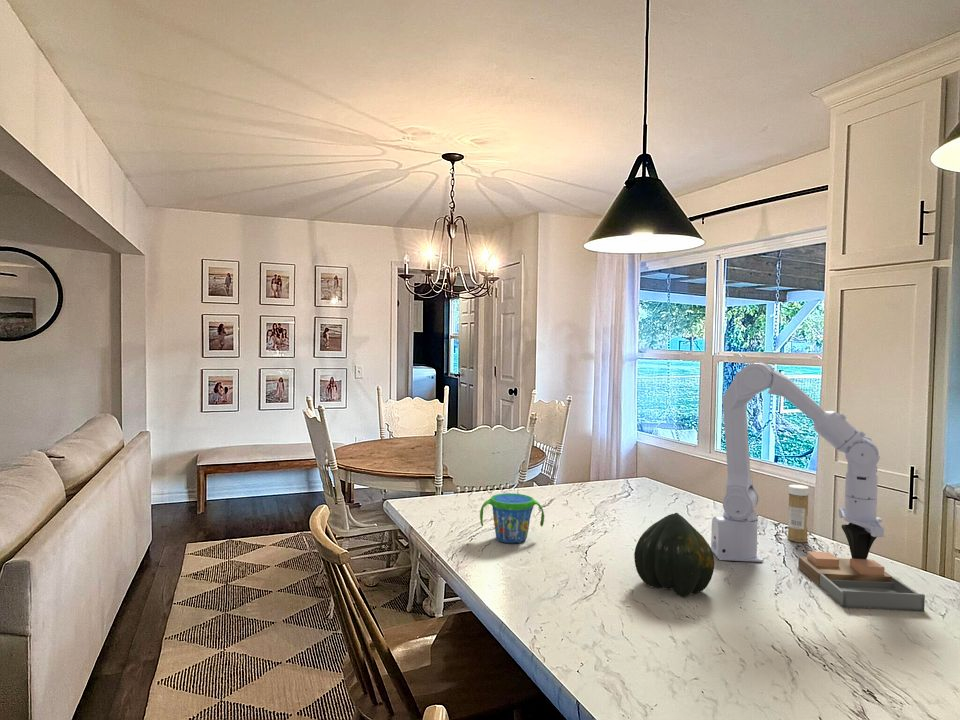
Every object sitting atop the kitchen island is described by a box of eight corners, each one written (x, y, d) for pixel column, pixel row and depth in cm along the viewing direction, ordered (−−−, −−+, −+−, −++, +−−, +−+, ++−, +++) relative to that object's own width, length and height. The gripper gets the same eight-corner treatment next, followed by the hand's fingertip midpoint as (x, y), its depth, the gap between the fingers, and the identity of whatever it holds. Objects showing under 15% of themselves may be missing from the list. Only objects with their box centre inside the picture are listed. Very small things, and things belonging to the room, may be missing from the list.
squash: (662, 581, 113) (702, 512, 118) (608, 559, 126) (646, 497, 131) (705, 623, 118) (742, 555, 123) (649, 597, 131) (684, 536, 136)
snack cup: (543, 534, 158) (543, 493, 158) (544, 547, 148) (545, 504, 147) (480, 532, 159) (481, 492, 159) (478, 545, 149) (478, 502, 148)
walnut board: (818, 585, 127) (818, 573, 126) (798, 567, 136) (798, 556, 136) (892, 588, 125) (892, 576, 125) (866, 570, 135) (867, 559, 135)
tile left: (816, 566, 131) (816, 558, 130) (807, 558, 135) (807, 551, 135) (839, 567, 130) (839, 559, 130) (829, 559, 135) (829, 552, 135)
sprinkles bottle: (811, 541, 155) (813, 486, 155) (801, 544, 152) (802, 488, 152) (793, 536, 159) (794, 483, 158) (783, 539, 156) (784, 485, 156)
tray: (843, 607, 116) (843, 591, 116) (819, 586, 126) (819, 571, 126) (924, 611, 115) (924, 594, 115) (893, 589, 125) (894, 574, 125)
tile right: (860, 573, 126) (860, 566, 126) (849, 565, 131) (849, 558, 131) (884, 575, 126) (884, 567, 126) (872, 567, 130) (872, 559, 130)
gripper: (901, 505, 124) (899, 574, 124) (863, 488, 138) (861, 550, 138) (863, 504, 124) (861, 573, 125) (829, 487, 139) (827, 549, 139)
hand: (858, 561), depth 132 cm, fingers closed
